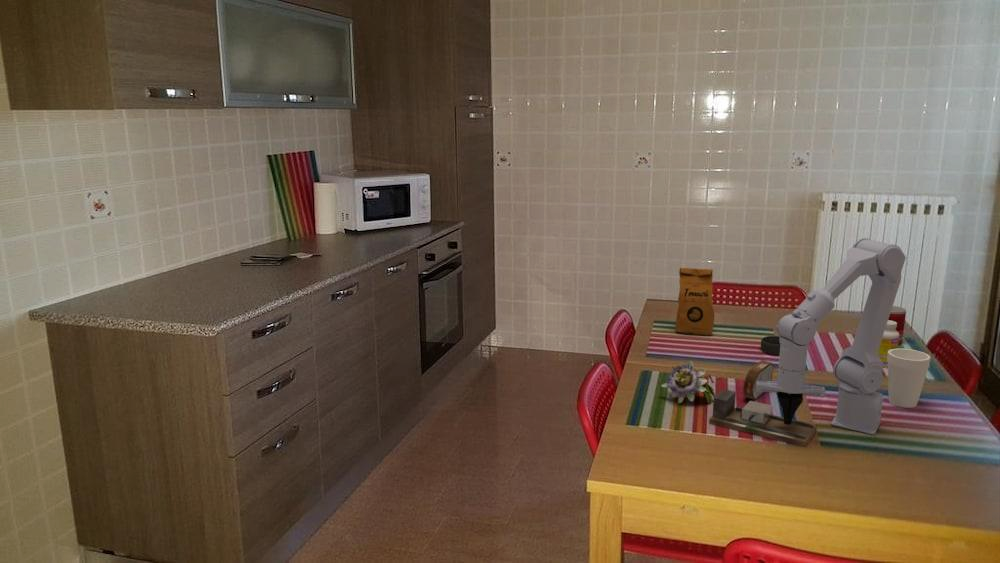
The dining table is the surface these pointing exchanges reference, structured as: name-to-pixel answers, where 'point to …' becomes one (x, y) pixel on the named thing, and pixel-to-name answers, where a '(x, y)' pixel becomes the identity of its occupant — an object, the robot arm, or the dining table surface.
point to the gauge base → (772, 429)
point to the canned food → (898, 320)
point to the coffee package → (695, 302)
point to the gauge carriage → (755, 412)
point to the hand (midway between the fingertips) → (787, 422)
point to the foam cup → (906, 376)
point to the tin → (757, 378)
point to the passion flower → (688, 383)
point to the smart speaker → (771, 345)
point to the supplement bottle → (888, 341)
